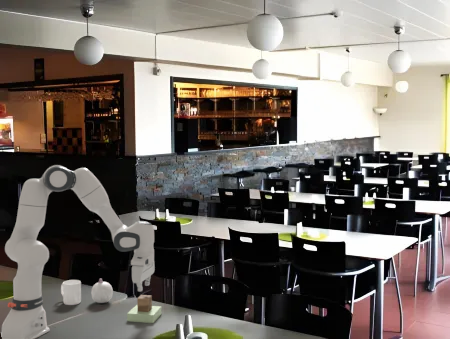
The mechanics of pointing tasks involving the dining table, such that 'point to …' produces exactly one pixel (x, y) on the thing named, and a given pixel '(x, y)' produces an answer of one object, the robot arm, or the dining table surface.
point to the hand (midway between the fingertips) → (143, 288)
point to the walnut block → (144, 303)
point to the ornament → (102, 292)
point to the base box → (144, 315)
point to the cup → (71, 292)
